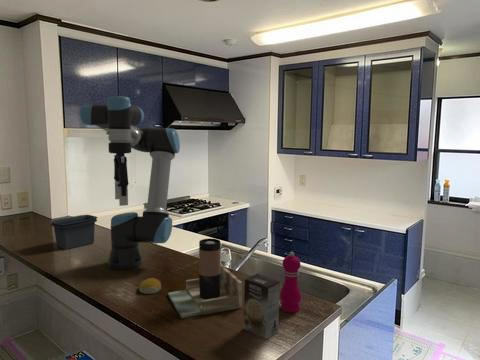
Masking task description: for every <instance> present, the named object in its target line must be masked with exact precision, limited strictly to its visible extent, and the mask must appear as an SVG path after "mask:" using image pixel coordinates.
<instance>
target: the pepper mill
mask: <svg viewBox="0 0 480 360" xmlns="http://www.w3.org/2000/svg"><path fill="white" fill-rule="evenodd" d="M282 267H283V275H284V283H283V286H282V287H281V290H280V291H279V300H281V302H280V308H281V310H282V311H284V312H287V313H292V314H293V313H297V312H299V311H300V302H301V300H302V292H301V290H300V287H299V283H298V276H299V269H300V268H301V260H300V259H299V257H298V256H295V253H294V251H289V253H288V255H287V256H285V257H284V258H283V260H282Z"/></svg>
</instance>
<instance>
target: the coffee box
mask: <svg viewBox="0 0 480 360" xmlns="http://www.w3.org/2000/svg"><path fill="white" fill-rule="evenodd" d="M280 283H281V282H280V281H279V280H278V279H274V278H271V277H269V276H266V275H263V274H261V273H255V274H253V275H250V276H248V277H246V278H245V279H244V291H243V292H244V297H243V299H244V300H243V301H244V302H243V306H244V307H243V329H244V330H246V331H247V332H249V333H252V334H254V335H255V336H258V337H259V338H262V339H264V340H268V339H269V338H271V337H272V336H274V335H275V334H277V333H278V332H279V316H280V315H279V313H280V312H279V311H280V306H279V305H280V286H281V285H280Z"/></svg>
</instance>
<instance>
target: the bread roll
mask: <svg viewBox="0 0 480 360" xmlns="http://www.w3.org/2000/svg"><path fill="white" fill-rule="evenodd" d="M138 289H139V292H140V293H141V294H145V295H151V294H156V293H159V292H160V291H161V289H162V283H161V281H160V280H159V279H157V278H155V277H149V278H146V279H144V280H143V281H141V282H140V284H139V286H138Z"/></svg>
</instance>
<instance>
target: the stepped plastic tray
mask: <svg viewBox="0 0 480 360" xmlns="http://www.w3.org/2000/svg"><path fill="white" fill-rule="evenodd" d="M167 296H168V298H169V299H170V302H171V303H172V305H173V306H174V308H175V309H176V312H177V313H178V315H179V317H180V318H181V319H185V318H191V317H196V316H200V315H203V316H205V315H210V314H216V313H220V312H226V311H230V310H236V309H241V308H243V282H242V281H241V280H240V279H239V278H238V277H237V276H235V275H234V273H232V272H231V271H230V270H229V269H228V268H227V267H225V266H224V265H223V264H222V263H221V275H220V296H219V297H218V298H213V299H207V300H205V299H202V298H201V297H200V287H199V277H198V278H191V279H186V280H185V289H183V290H177V291H170V292H168V293H167Z"/></svg>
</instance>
